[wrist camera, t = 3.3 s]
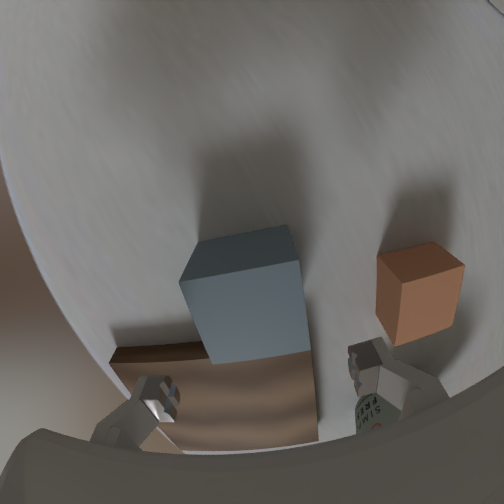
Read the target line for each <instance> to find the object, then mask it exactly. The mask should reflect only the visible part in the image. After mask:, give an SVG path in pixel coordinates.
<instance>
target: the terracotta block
mask: <svg viewBox="0 0 504 504" xmlns="http://www.w3.org/2000/svg"><path fill="white" fill-rule="evenodd" d="M464 267H465V265H464V264H463V263H462V262H460V261H459V260H458V259H457V258H455V257H454V256H453V255H451V254H450V253H449V252H447V251H446V250H445V249H443V248H442V247H441V246H439V245H438V244H437V243H435V242H432V243H428V244H424V245H420V246H415V247H411V248H407V249H402V250H398V251H394V252H389V253H385V254H380V255H377V291H376V316H377V317H378V319H379V321H380V322H381V324H382V326H383V327H384V329H385V331H386V333H387V334H388V336H389V338H390V340H391V342H392V343H393V345H394V347H396V346H399V345H402V344H405V343H408V342H411V341H414V340H417V339H420V338H423V337H425V336H428V335H431V334H433V333H436V332H439V331H441V330H444V329H446V328H449V327H451V326H452V324H453V320H454V316H455V312H456V308H457V304H458V299H459V295H460V290H461V285H462V279H463V274H464Z"/></svg>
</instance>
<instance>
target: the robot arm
mask: <svg viewBox="0 0 504 504" xmlns="http://www.w3.org/2000/svg"><path fill="white" fill-rule="evenodd" d="M489 1H490V2H491V3H492V4H493V5H494V6H495V7H496V8H497V9H498V10H499V11H500V12H501V13H502V14H504V0H489ZM348 354H349V356H350V358H349V359H348V366H349V372H350V375H351V378H352V379H353V380H354V387H355V389H356V392H357V395H358V397H361V396H364V395H368V394H372V393H375V392H377V394H379V395H380V396H381V397H383V398H384V399H386V400H387V401H388V402H390V403H391V404H392V405H394V406H395V407H397V408H398V409H399V410H401V414H400V417H399V420H398V421H395V422H393V423H390V424H387V425H384V426H381V427H378V428H375V429H372V430H369V431H365V432H362V433H359V434H355V435H352V436H348V437H344V438H340V439H336V440H332V441H327V442H323V443H318V444H313V445H308V446H302V447H296V448H290V449H283V450H276V451H267V452H257V453H245V454H226V455H188V454H169V453H157V452H148V451H143V450H142V449H140V448H139V446H140V445H141V444H142V443H143V441H144V440H145V439H146V438H147V437H148V436H149V435H150V433H151V432H152V431H153V430H154V429H155V428H156V427H157V425H158V424H159V422H175V419H176V415H177V410H176V407H177V406H178V405H179V403H180V393H179V390H178V388H177V386H175V385H174V384H172V381H173V380H172V379H171V377H170V376H169V375H150V376H140V377H139V378H138V381H137V383H136V385H135V388H134V390H133V393H132V395H131V398H130V400H126V401H125V402H124V403H123V404H121V405H120V406H119V407H118V408H117V409H115V410H114V411H113V412H111V413H110V414H109V415H108V416H106V417H105V418H104V419H103V420H101V421H100V422H99V423H98V424H97V425H96V428H95V430H94V432H93V434H92V437H91V439H90V441H85V440H81V439H77V438H74V437H70V436H66V435H63V434H60V433H57V432H53V431H51V430H48V429H44V428H41V429H38V430H36V431H34V432H33V433H31V434H30V435H28V436H27V437H25V438H24V439H22V440H21V441H20V442H19V444H18V445H17V446H16V448H15V450H14V451H13V453H12V455H11V457H10V458H9V460H8V462H7V464H6V466H5V467H4V469H3V472H2V474H1V476H0V504H504V366H503V367H501V368H500V369H498V370H497V371H495V372H494V373H492V374H491V375H489V376H488V377H486V378H484V379H483V380H481V381H479V382H478V383H476V384H474V385H473V386H471V387H469V388H467V389H466V390H464V391H462V392H460V393H458V394H456V395H454V396H453V397H451V398H450V397H449V396H448V394H447V392H446V391H445V389H444V387H443V386H442V384H441V382H440V381H439V379H438V378H436V377H434V376H432V375H429V374H427V373H425V372H423V371H421V370H419V369H417V368H414V367H412V366H410V365H408V364H406V363H404V362H402V361H400V360H394V358H393V356H392V354H391V353H390V351H389V349H388V347H387V346H386V344H385V342H384V340H383V339H382V337H377V338H374V339H371V340H368V341H364V342H361V343H358V344H354V345H350V346H348Z"/></svg>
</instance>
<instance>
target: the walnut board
mask: <svg viewBox="0 0 504 504" xmlns="http://www.w3.org/2000/svg"><path fill="white" fill-rule="evenodd" d="M310 347H311V346H310ZM109 364H110V366H111V367H112V369H113V370H114V372H115V373H116V374H117V376H118V377H119V379H120V380H121V381H122V383H123V384H124V385H125V387H126V388H127V389H128V391H129V392H130V393H131V395H132V393H133V390H134V388H135V385H136V383H137V381H138V378H139V377H140V376H150V375H169V376H170V377H171V379H172V380H173V381H172V384H174V385H175V386H177V388H178V390H179V393H180V403H179V405H178V406H177V407H176V410H177V415H176V419H175V422H159V424H158V425H157V426H158V427H159V428H160V429H161V430H162V431H163V432H164V433H165V434H166V435H167V437H168V438H169V439H170V440H171V441H172V442H173V443H174V444H175V445H176V446H177V447H178V448H179V449H180V450H188V451H237V450H253V449H265V448H275V447H283V446H291V445H297V444H304V443H309V442H315V441H319V439H318V423H317V410H316V397H315V386H314V375H313V365H312V355H311V350H308V351H303V352H297V353H292V354H286V355H281V356H275V357H268V358H262V359H255V360H248V361H240V362H232V363H223V364H212V362H211V360H210V358H209V355H208V353H207V351H206V349H205V346H204V344H203V342H202V341H200V342H190V343H180V344H169V345H156V346H141V347H121V348H116V350H115V352H114V354H113V356H112V358H111V360H110V362H109Z"/></svg>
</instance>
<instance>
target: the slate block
mask: <svg viewBox="0 0 504 504" xmlns="http://www.w3.org/2000/svg"><path fill="white" fill-rule="evenodd" d="M179 285H180V287H181V290H182V293H183V295H184V298H185V300H186V303H187V305H188V308H189V311H190V313H191V315H192V318H193V320H194V323H195V325H196V328H197V330H198V332H199V335H200V337H201V339H202V342H203V344H204V346H205V349H206V351H207V353H208V355H209V358H210V360H211V362H212V364H223V363H232V362H240V361H248V360H255V359H262V358H268V357H275V356H281V355H286V354H292V353H297V352H303V351H308V350H311V347H310V338H309V329H308V321H307V313H306V306H305V298H304V291H303V284H302V277H301V270H300V263H299V258H298V256H297V253H296V250H295V247H294V244H293V241H292V239H291V236H290V233H289V230H288V228H287V225H283V226H277V227H272V228H267V229H262V230H257V231H252V232H247V233H242V234H237V235H232V236H227V237H222V238H218V239H213V240H208V241H203V242H198V243H197V245H196V247H195V249H194V251H193V253H192V255H191V257H190V259H189V261H188V264H187V266H186V268H185V270H184V272H183V274H182V276H181V278H180V280H179Z"/></svg>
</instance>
